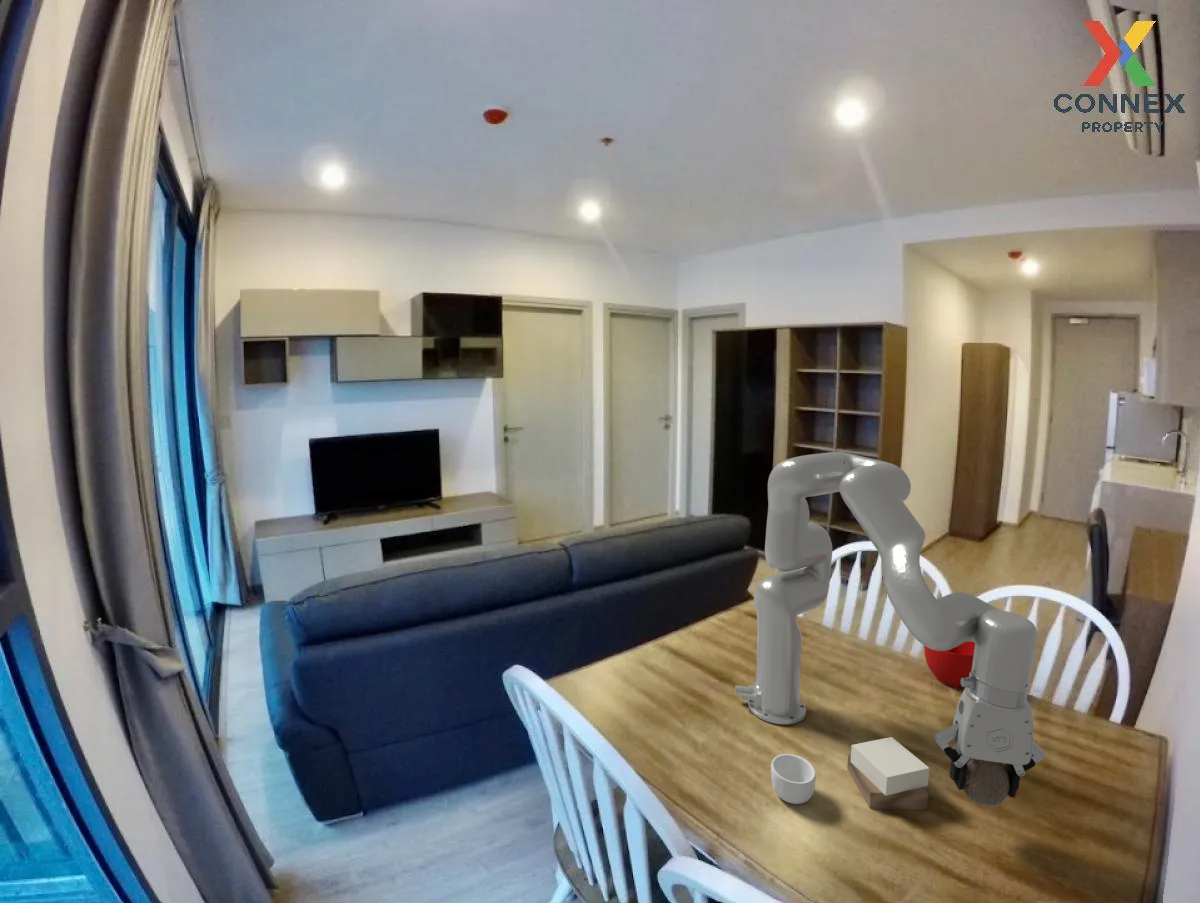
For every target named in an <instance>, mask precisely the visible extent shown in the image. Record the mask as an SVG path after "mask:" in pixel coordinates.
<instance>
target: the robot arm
mask: <svg viewBox="0 0 1200 903" xmlns="http://www.w3.org/2000/svg"><path fill="white" fill-rule="evenodd" d="M911 486H912V485H911V480H910V478H909V476H908V474H907V473H906V472H905V471H904V469H902V468H901V467H899V466H898V465H896V464H893V463H890V462H887V461H883V460H880V459H875V458H871V457H866V456H861V455H858V454H854V453H849V452H844V451H830V452H822V453H813V454H806V455H800V456H796V457H791V458H788V459H784V460H782V461H781V462H779V463H777V464H776V465H775V466H774V468H773V469H772V470H771V472H770V473H769V476H768V481H767V501H768V505H767V506H768V507H767V515H766V516H767V517H766V518H767V519H766V528H765V539H764V540H765V542H764V557H765V562H766V563H767V565H768V566H769V567H770V568H771V569H772V570H775V571H776V572H779V573H776V574H773V575H770V576H767V577H766V578H763V579H762V580H761V581H759V582H758V584H757V586H756V587H755V589H754V595H753V596H754V597H753V598H754V605H755V606H754V607H755V611H756V612H755V613H756V621H757V625H756V626H757V636H756V642H757V644H756V646H757V647H756V669H755V670H756V673H755V680H754V681H753V682H752V684H753V685H748V686H743V685H738V684H737V685H734V695H740V700H742V701H747V705H748V709H749V710H750V711H751V713H752V714H753V715H755V716H756V717H757V718H759V719H761V720H763V721H765V722H768V723H771V724H776V725H794V724H797V723H799V722H802V721H803V720H804V719H805V717H806V714H807V707H806V704H805V703H804V701H803V700H801V698H800V691H801V690H800V688H801V671H802V670H801V668H802V666H801V665H802V646H803V645H802V644H803V637H802V632H801V629H800V626H799V624H798V621H797V617H798V616H799V615H802V614H804V613H806V612H809V611H812V610H815V609H817V608H819V607H820V606H822V605H823V604H824V602H825V601H826V600H827V597H828V594H829V589H830V579H831V568H832V562H833V561H832V560H833V544H832V540H831V537H830V535H829V533H828V531H827V529H825V528H824V527H823V526H822V525H820V524H818V523H816V522H812V521H810V509H809V504H808V501H807V499H806V498H809V497H816V496H817V497H818V496H821V495H829V494H833V493H840V495H841V496H840V497H841V498H842V500H843V501H844V504H845V505H846V507H848V509H849V510H850V512H851V513H852V515H853V516H854V518H855V519H856V521H857V522H858V525H860V528H861V529H862V530H863V531H864V533H865V534H866V535H867V537H868V539H869V541H870V542H871V543H872V544H873V547H874V548H875V549H876V551H877V553H878V554H879V557H880V561H881V573H882V579H883V584H884V589H885V593H886V595H887V598H888V600H889V602H890V603H891V605H892V607H893V609H894V611H895V612H896V614H897V615H898V617H899V618H900V619H901V621H902V623H903V624H904V625H905V627H906V628H907V630H908V632H910V634H911V635H912V637H914V638H915V640H916V641H918V642H919V643H920V644H921V645H923V646H926V647H927V648H930V649H932V650H936V651H947V650H950V649H953V648H955V647H957V646H959V645H961V644H962V643H964V642H971V641H972V642H974V643H975V649H974V656H973V663H972V670H971V672H970V674H969V677H968V678H961V685H962V686H963V687H962V688H964V689H963V690H962V691H963V692H962V693H961V694H960V695H961V696H960V698H959V700H958V703H957V706H956V709H955V713H954V718H953V722H952V725H950V726H949V727H947V728H945V729H943V730H941V731H939V732H937V733H935V734H934V735H933V738H934V740H935V742H936V744H937V745H938V746H939V747H940V749H941V750H942V751H943V752H944V754H945V755H946V756H947V757H948V758H949V759H950V760H951V761H950V767H949V777H950V779H951V781H952V782H953V783H954V784H955V786H956V788H957V789H958V790H960V791H963V789H964V784H965V777H966V768H965V766H964V764H965V763H966V762H967V761H968V760H969V758H971V759H977V760H983V761H990V762H997V763H1002V764H1003V765H1004V767H1005V769H1006V771H1007V773H1008V777H1009V791H1008V795H1007V796H1009V798H1013V799H1014V798H1016V794H1017V790H1019V788H1020V781H1021V777H1024V776H1025V775H1026V772H1027V771H1028V770H1030V769H1032V768H1033V767H1034V766H1036V763H1039V762H1041V761H1042V760H1044V759H1045V758H1046V757H1047V754H1046V753H1045V751H1044V750H1043V749H1042V748H1041V746H1039V745H1038V744H1037V743H1036V742H1035V741H1034V713H1033V708H1032V707H1033V706H1032V704H1031V703H1030V702H1029V701H1028V700H1027V698H1028V693H1029V686H1030V682H1031V681H1030V679H1031V673H1032V669H1033V661H1034V655H1035V652H1036V646H1037V644H1036V643H1037V639H1038V629H1037V627H1036V626H1035V624H1034V623H1033V622H1032V621H1031V620H1030V619H1028V618H1027V617H1025V616H1022V615H1020V614H1017V613H1015V612H1012V611H1007V610H1002V609H999V608H997V607H996V606H994V605H992V604H989V603H988V602H986V601H984V600H982V599H980V598H979V597H977V596H974V595H972V594H970V593H968V592H967V593H966V592H962V591H961V592H959V591H955V592H951V593H949V594H946V595H944V596H941V597H938V598H936V596H935V595H934V594H933V592H932V591H931V589H930V587H929V585H928V584H927V582H926V580H925V579H924V576H923V573H922V569H921V562H920V559H921V558H920V557H921V552H922V548H923V546H924V543H925V540H926V532H925V530H924V528H923V527H922V525H921V524H920V523H919V521H918V520H917V519H916V517H915V516H914V515H913V513H912V512H911V511H910V509H909V508H908V506H907V505H906V504H905V502H906V500H907V499H908V498H909V496H910V494H911V489H912V487H911ZM952 740H954V741H955V742H956V743H955V744H954V745H953V746H951V745H950V744H949V742H951V741H952Z"/></svg>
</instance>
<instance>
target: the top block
mask: <svg viewBox="0 0 1200 903" xmlns="http://www.w3.org/2000/svg"><path fill="white" fill-rule="evenodd" d="M850 755H851V763H852V764H853V765H854V766H855V767H856V768H857V769H858V770H860V771H861V772H862V773H863V774H864V775H865V776H866V777H867V778H868V779H869V780H870V781H871V782H872V783H873V784H874V785H875V786H876V787H877V788H878V789H879V790H880V791H881V792H882V793H883V794H884V795H885V796H886V795H891V794H895V793H899V792H904V791H908V790H912V789H917V788H921V787H924V788H925V787H928V786H929V776H930V767H929V766H927V765H926V764H925V763H924V762H922V760H921V759H919V758H918V757H917V756H915V755H914V754H913V753H912V752H911V751H909V750H908V749H907V748H905V746H903V745H902V744H901V743H900V742H898V740H896V739H895V738H894V737H892V736H890V737H885V738H880V739H874V740H869V741H865V742H861V743H854V744H851V751H850Z"/></svg>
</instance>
